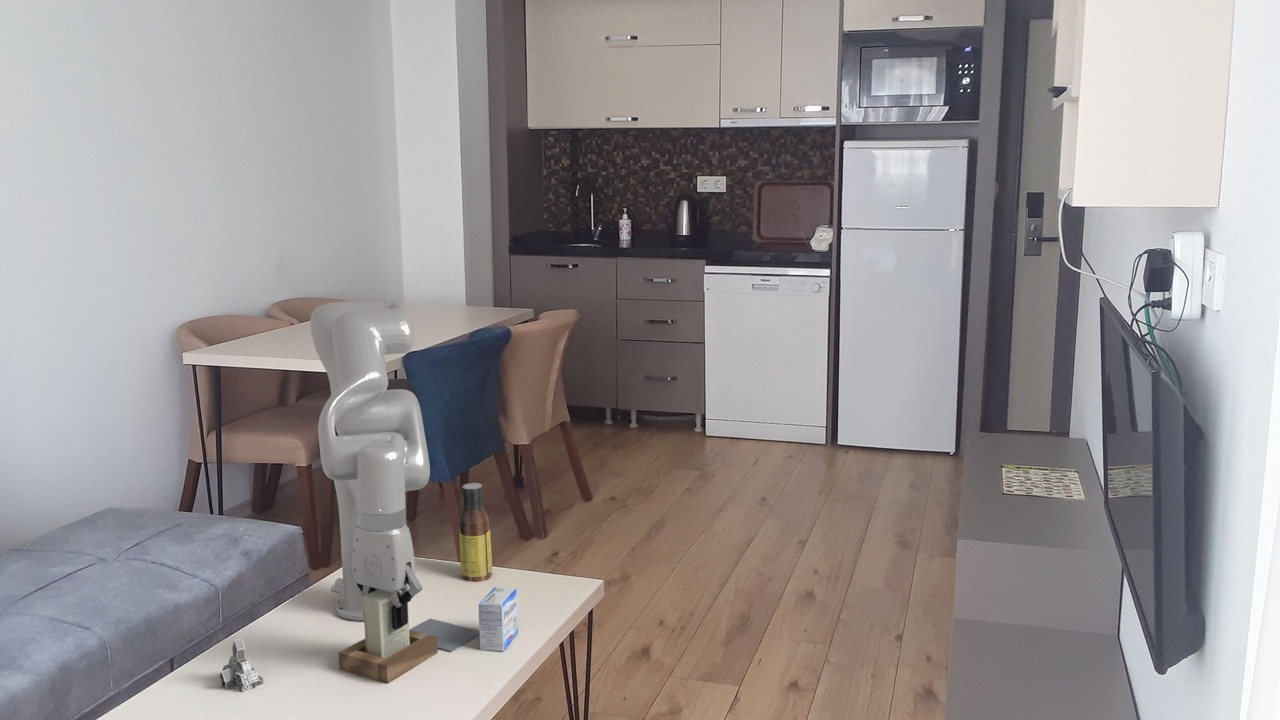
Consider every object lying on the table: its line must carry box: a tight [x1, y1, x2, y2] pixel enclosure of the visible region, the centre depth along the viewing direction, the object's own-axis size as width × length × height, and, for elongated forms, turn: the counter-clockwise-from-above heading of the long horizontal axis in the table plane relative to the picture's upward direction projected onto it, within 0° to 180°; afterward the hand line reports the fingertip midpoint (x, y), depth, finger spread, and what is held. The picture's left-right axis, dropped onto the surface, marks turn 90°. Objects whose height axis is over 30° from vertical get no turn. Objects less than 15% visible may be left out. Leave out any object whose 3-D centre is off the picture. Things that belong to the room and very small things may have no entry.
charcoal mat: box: [409, 618, 480, 653], centre depth 186 cm, size 12×9×1 cm
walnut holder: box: [338, 629, 439, 684], centre depth 176 cm, size 10×12×3 cm
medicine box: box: [478, 586, 519, 652], centre depth 183 cm, size 8×4×9 cm, turn 168°
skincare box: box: [363, 589, 410, 658], centre depth 176 cm, size 6×4×12 cm
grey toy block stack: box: [219, 637, 265, 693], centre depth 168 cm, size 9×9×8 cm
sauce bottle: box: [458, 482, 493, 583], centre depth 211 cm, size 7×6×20 cm
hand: (387, 621), depth 176 cm, fingers open, 5 cm apart
